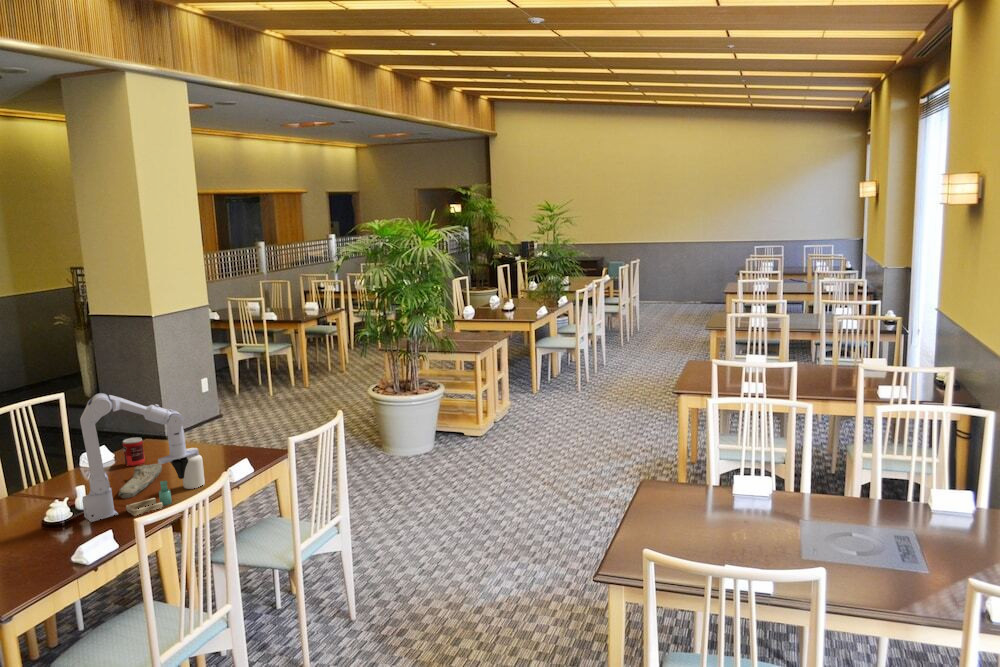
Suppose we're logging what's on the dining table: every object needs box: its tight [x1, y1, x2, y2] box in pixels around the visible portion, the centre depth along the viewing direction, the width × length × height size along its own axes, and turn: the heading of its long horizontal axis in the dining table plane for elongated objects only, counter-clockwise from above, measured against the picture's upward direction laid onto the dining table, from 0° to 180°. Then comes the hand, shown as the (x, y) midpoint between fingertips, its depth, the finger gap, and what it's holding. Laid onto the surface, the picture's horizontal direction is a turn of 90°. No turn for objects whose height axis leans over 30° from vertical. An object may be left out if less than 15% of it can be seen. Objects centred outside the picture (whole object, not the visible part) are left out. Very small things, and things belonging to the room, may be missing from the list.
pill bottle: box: [182, 447, 206, 490], centre depth 306 cm, size 8×8×15 cm
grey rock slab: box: [118, 463, 163, 499], centre depth 313 cm, size 35×5×10 cm
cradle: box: [125, 497, 164, 517], centre depth 284 cm, size 10×8×2 cm
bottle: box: [158, 480, 173, 507], centre depth 288 cm, size 4×4×8 cm
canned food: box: [122, 437, 146, 467], centre depth 339 cm, size 8×8×11 cm
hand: (181, 478), depth 292 cm, fingers closed
